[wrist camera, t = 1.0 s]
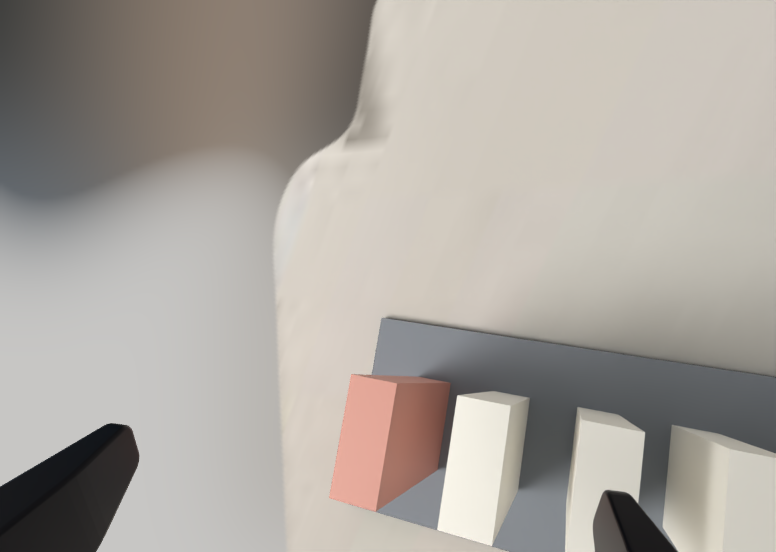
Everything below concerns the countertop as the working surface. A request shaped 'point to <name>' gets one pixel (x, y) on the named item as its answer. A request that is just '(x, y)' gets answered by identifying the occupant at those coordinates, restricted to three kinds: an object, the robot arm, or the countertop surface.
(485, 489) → the domino
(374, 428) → the domino
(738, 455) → the domino
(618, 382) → the slate mat
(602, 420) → the domino
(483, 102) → the countertop surface
